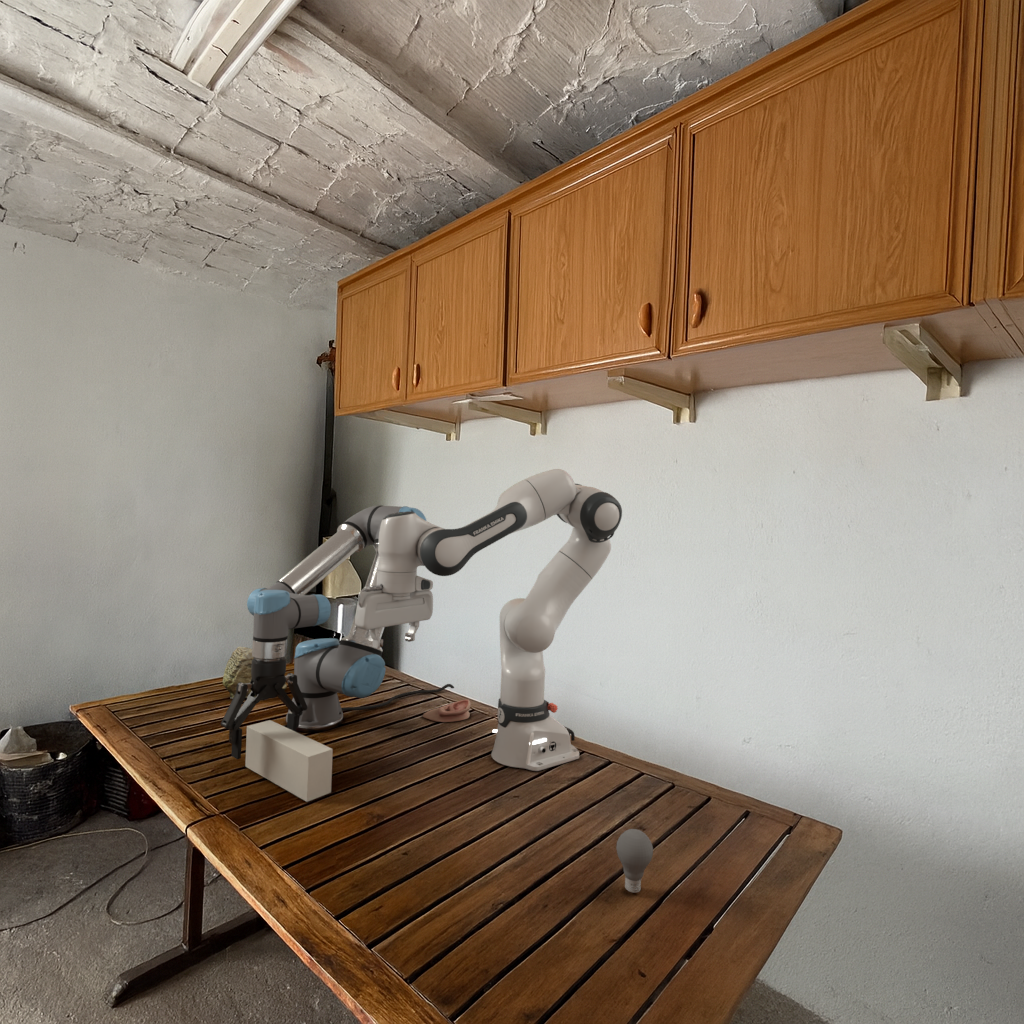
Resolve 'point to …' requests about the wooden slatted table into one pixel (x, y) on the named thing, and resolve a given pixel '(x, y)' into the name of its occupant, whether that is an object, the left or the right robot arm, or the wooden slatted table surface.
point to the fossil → (239, 670)
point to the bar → (289, 759)
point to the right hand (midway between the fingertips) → (394, 644)
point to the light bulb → (634, 857)
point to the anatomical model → (450, 712)
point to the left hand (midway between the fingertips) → (264, 749)
